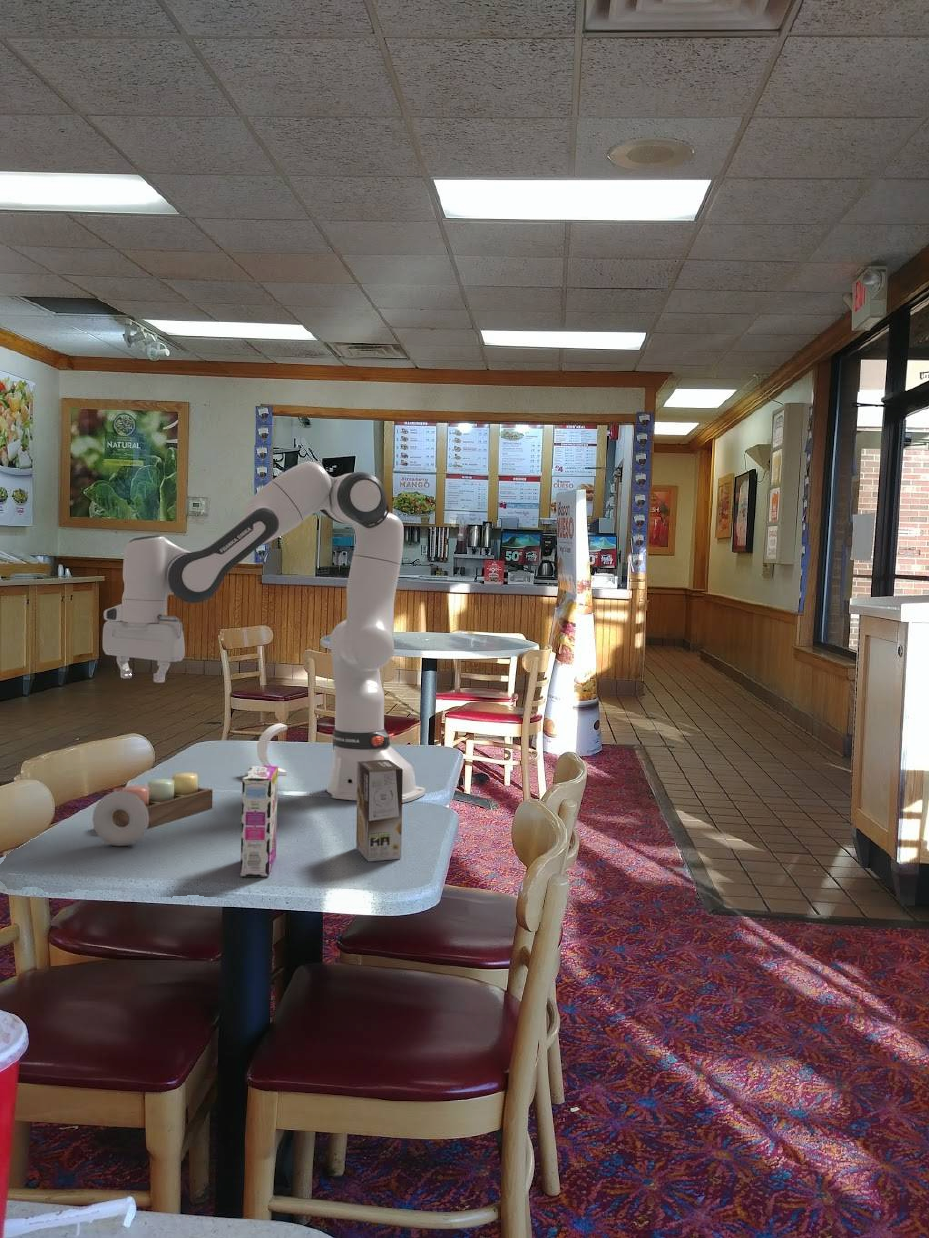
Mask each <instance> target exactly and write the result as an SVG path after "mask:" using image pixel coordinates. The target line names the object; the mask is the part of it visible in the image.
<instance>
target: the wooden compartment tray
mask: <svg viewBox="0 0 929 1238" xmlns="http://www.w3.org/2000/svg"><path fill="white" fill-rule="evenodd" d="M147 809H148V814H149V823H148V827H147V829H151V828H155V827H157V826H161V825H164V824H167V823H170V822H173V821H177V820H180V819H183V818H186V817H189V816H192V815H196V814H200V813H202V812H205V811H208V810H211V809H213V788H208V787H207V788H206V787H199V786H198V792H196V793H193V794H189V795H180V794H174V799H172V800H168V801H165V802H155V801H150V800H149V806H147ZM112 819H113V822H114V824H115V825H116V826H118V827H125V826H127V825H128V824H129V821H130V818H129V815H128V813H127V812H126V811H124V810H117V811H115V812H114V813H113V816H112ZM147 829H146V830H147Z"/></svg>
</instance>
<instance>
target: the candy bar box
mask: <svg viewBox="0 0 929 1238" xmlns="http://www.w3.org/2000/svg"><path fill="white" fill-rule="evenodd" d="M278 768H279V766H276V765H275V766H274V765H271V766H263V765H251V767H250V768H249V770H247V772H246V773H245V775H244V776H243V777H242V779H241V780H242V785H241V786H242V787H241V788H242V789H241V791H242V792H241V796H242V797H241V833H240V835H241V836H240V837H241V839H240V841H241V843H240V875H239V876H240V877H241V878H268V877H270V874H271V871H272V868H273V865H274V862H275V861H276V860H275V859H276V857H277V830H278V829H277V826H278V825H277V823H278V822H277V821H278V818H277V817H278V791H279V790H278V788H279V787H278V786H279V785H278V783H279V780H278V779H279V778H278V777H279V776H278Z"/></svg>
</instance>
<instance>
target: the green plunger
mask: <svg viewBox="0 0 929 1238" xmlns="http://www.w3.org/2000/svg"><path fill="white" fill-rule="evenodd" d="M147 787H149V800H150V801H155V802H165V801H168V800H172V799H174V781H173V780H172V779H170V778H169V779H168V778H157V779H152V780H149V781H147Z"/></svg>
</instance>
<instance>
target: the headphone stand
mask: <svg viewBox="0 0 929 1238" xmlns="http://www.w3.org/2000/svg"><path fill="white" fill-rule="evenodd" d="M287 730H288V725H285V724H284V723H275V724H274V725H270V726H269V727H267V729H265V730H264V731H263V733H262V734H261V736H260V737H259V739H258V740H257V741H258V742H257V747H256V753H257V754H256V755H257V757H258V760H259V762H260V764H261V765H262V766H272V765H271V763H270V762H269V759H268V755H267V754H268V753H267V750H268V746H269V744H270V741H271V740H272V739H273V737H274V736H275V735H277V734H278V733H279V732H280V733H281V732H283V731H287ZM287 775H288V771H287V770H284V769H283V768H281V767H280V768H279V767H278V777H282V776H283V777H284V776H287Z"/></svg>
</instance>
